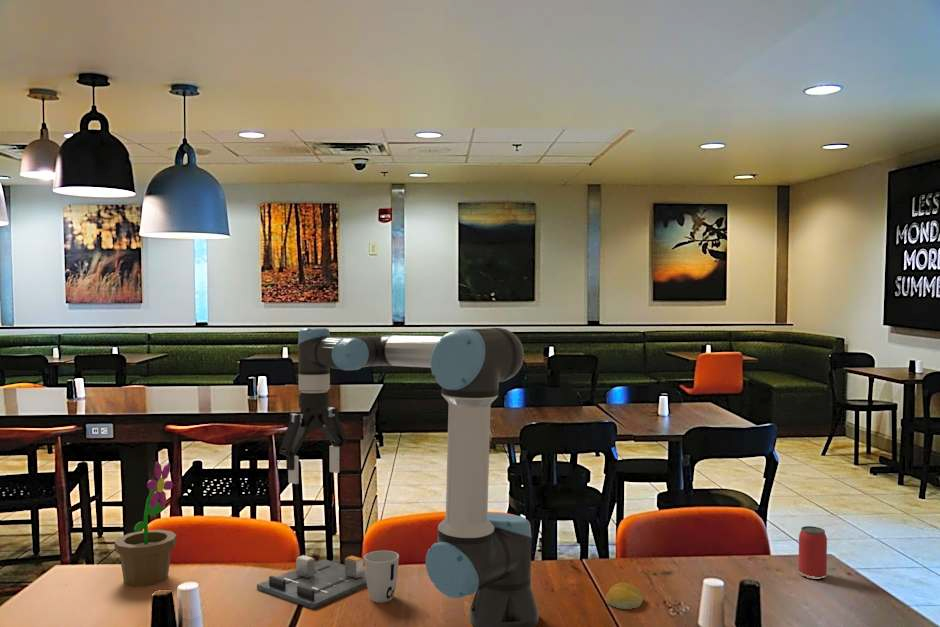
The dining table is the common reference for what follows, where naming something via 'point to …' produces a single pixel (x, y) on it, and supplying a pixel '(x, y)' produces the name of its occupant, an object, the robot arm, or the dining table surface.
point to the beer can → (813, 551)
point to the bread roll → (624, 596)
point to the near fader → (354, 566)
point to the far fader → (305, 566)
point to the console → (314, 585)
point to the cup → (381, 574)
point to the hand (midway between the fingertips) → (314, 477)
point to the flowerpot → (148, 539)
